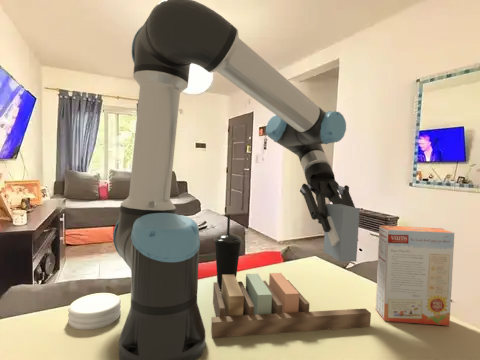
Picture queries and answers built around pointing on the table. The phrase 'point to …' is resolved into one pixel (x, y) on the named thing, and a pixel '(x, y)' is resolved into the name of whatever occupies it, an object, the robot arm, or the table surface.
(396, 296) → the cracker box
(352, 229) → the slate blue block
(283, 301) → the terracotta offcut
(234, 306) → the oak offcut
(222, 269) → the drinking cup
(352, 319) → the rack
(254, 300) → the sage offcut
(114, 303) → the white disc stack
